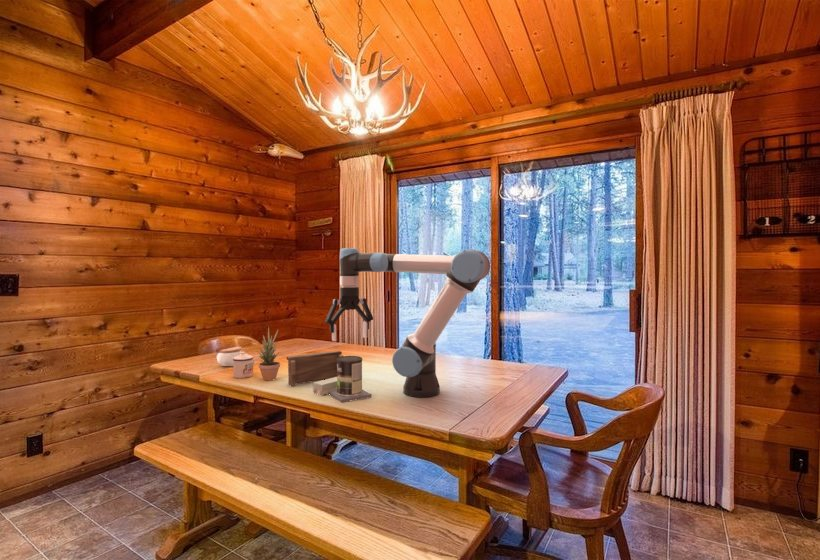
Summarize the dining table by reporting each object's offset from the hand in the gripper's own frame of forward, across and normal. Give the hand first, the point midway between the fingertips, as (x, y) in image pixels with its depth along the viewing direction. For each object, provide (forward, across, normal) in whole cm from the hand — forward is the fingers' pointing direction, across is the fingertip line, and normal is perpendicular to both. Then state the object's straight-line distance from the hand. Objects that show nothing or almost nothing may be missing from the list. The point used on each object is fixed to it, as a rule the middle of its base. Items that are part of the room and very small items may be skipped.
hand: (349, 339), depth 169 cm
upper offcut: (+21, +4, -10) cm, 24 cm away
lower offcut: (+23, +4, -10) cm, 26 cm away
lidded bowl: (+23, +32, -84) cm, 93 cm away
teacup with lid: (+23, +29, -57) cm, 68 cm away
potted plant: (+23, +21, -44) cm, 54 cm away
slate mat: (+23, 0, 0) cm, 23 cm away
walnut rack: (+23, +4, -28) cm, 36 cm away
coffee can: (+22, 0, 0) cm, 22 cm away
